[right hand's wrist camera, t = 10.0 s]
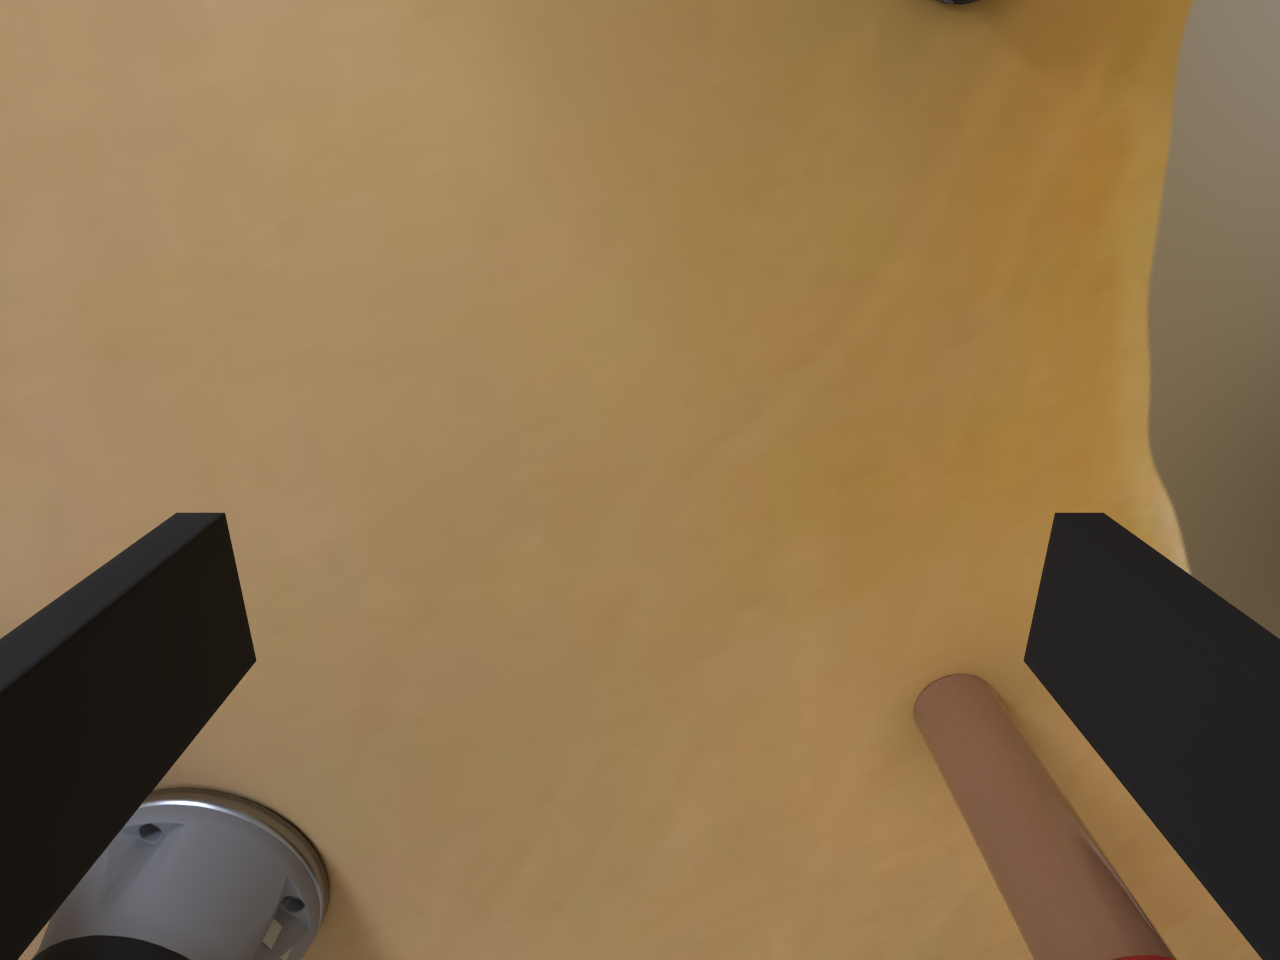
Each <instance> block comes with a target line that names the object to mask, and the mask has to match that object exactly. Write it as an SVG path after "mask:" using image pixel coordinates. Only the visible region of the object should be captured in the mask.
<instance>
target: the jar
mask: <svg viewBox="0 0 1280 960" xmlns="http://www.w3.org/2000/svg"><path fill="white" fill-rule="evenodd" d="M914 717H915V721H916V724H917V726H918V728H919V730H920V732H921V734H922V736H923V738H924V740H925V742H926V744H927V746H928V748H929V750H930V752H931V754H932V756H933V758H934V760H935V762H936V764H937V766H938V768H939V770H940V772H941V774H942V776H943V778H944V780H945V782H946V784H947V786H948V788H949V790H950V792H951V794H952V796H953V798H954V800H955V802H956V804H957V806H958V808H959V810H960V812H961V814H962V816H963V818H964V820H965V822H966V824H967V826H968V828H969V830H970V832H971V834H972V836H973V838H974V840H975V842H976V844H977V846H978V848H979V850H980V852H981V854H982V856H983V858H984V860H985V862H986V864H987V866H988V868H989V870H990V872H991V874H992V876H993V878H994V880H995V882H996V884H997V886H998V888H999V890H1000V892H1001V894H1002V896H1003V898H1004V900H1005V902H1006V904H1007V906H1008V908H1009V910H1010V912H1011V914H1012V917H1013V919H1014V921H1015V923H1016V925H1017V927H1018V929H1019V931H1020V933H1021V935H1022V937H1023V939H1024V941H1025V943H1026V945H1027V947H1028V949H1029V951H1030V953H1031V955H1032V957H1033V959H1034V960H1115V959H1118V958H1123V957H1128V956H1136V955H1158V956H1164V957H1169V958H1173V959H1176V960H1178V959H1177V958H1176V957H1175V955H1174V954H1173V952H1172V951H1171V949H1170V948H1169V946H1168V945H1167V943H1166V942H1165V940H1164V939H1163V937H1162V936H1161V935H1160V933H1159V932H1158V930H1157V929H1156V927H1155V926H1154V924H1153V923H1152V921H1151V920H1150V918H1149V917H1148V916H1147V914H1146V913H1145V911H1144V910H1143V908H1142V907H1141V905H1140V904H1139V902H1138V901H1137V899H1136V898H1135V896H1134V895H1133V894H1132V892H1131V891H1130V889H1129V888H1128V886H1127V885H1126V883H1125V882H1124V880H1123V879H1122V877H1121V876H1120V874H1119V873H1118V872H1117V870H1116V869H1115V867H1114V866H1113V864H1112V863H1111V861H1110V860H1109V858H1108V857H1107V855H1106V854H1105V853H1104V851H1103V850H1102V848H1101V847H1100V845H1099V844H1098V842H1097V841H1096V839H1095V838H1094V836H1093V835H1092V833H1091V832H1090V831H1089V829H1088V828H1087V826H1086V825H1085V823H1084V822H1083V820H1082V819H1081V817H1080V816H1079V814H1078V813H1077V811H1076V810H1075V809H1074V807H1073V806H1072V804H1071V803H1070V801H1069V800H1068V798H1067V797H1066V795H1065V794H1064V792H1063V791H1062V790H1061V788H1060V787H1059V785H1058V784H1057V782H1056V781H1055V779H1054V778H1053V776H1052V775H1051V773H1050V772H1049V770H1048V769H1047V768H1046V766H1045V765H1044V763H1043V762H1042V760H1041V759H1040V757H1039V756H1038V754H1037V753H1036V751H1035V750H1034V749H1033V747H1032V746H1031V744H1030V743H1029V741H1028V740H1027V738H1026V737H1025V735H1024V734H1023V732H1022V731H1021V729H1020V728H1019V727H1018V725H1017V724H1016V722H1015V721H1014V719H1013V718H1012V716H1011V715H1010V713H1009V712H1008V710H1007V709H1006V707H1005V706H1004V705H1003V703H1002V702H1001V700H1000V699H999V697H998V696H997V694H996V693H995V691H994V690H993V689H992V687H991V686H990V685H989V684H988V683H987V682H985V681H984V680H982V679H980V678H978V677H975V676H971V675H963V674H960V675H951V676H947V677H944V678H941V679H939V680H937V681H935V682H934V683H932V684H931V685H929V686H928V687H927V688H926V689H925V690H924V691H923V692H922V693H921V694H920V696H919V698H918V699H917V702H916V705H915V709H914Z"/></svg>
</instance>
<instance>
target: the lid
mask: <svg viewBox="0 0 1280 960" xmlns="http://www.w3.org/2000/svg"><path fill="white" fill-rule="evenodd" d="M1115 960H1176V959H1173V958H1169V957H1164V956H1158V955H1136V956H1128V957H1123V958H1118V959H1115Z"/></svg>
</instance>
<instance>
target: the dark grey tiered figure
mask: <svg viewBox="0 0 1280 960" xmlns="http://www.w3.org/2000/svg"><path fill="white" fill-rule="evenodd" d="M938 1H941V2H943V3H949V4H965V3H970V2H974V1H978V0H938Z"/></svg>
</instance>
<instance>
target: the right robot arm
mask: <svg viewBox="0 0 1280 960" xmlns="http://www.w3.org/2000/svg"><path fill="white" fill-rule="evenodd" d="M255 662H256V657H255V652H254V647H253V643H252V638H251V633H250V629H249V624H248V619H247V615H246V610H245V605H244V600H243V596H242V591H241V586H240V582H239V577H238V572H237V567H236V563H235V558H234V553H233V549H232V544H231V539H230V534H229V530H228V525H227V520H226V516H225V513H176V514H174V515H173V516H171V517H170V518H169V519H167V520H166V521H164V522H163V523H162V524H160V525H159V526H158V527H156V528H155V529H153V530H152V531H151V532H149V533H148V534H146V535H145V536H144V537H142V538H141V539H139V540H138V541H137V542H135V543H134V544H132V545H131V546H130V547H128V548H127V549H125V550H124V551H123V552H121V553H120V554H118V555H117V556H116V557H114V558H113V559H112V560H110V561H109V562H107V563H106V564H105V565H103V566H102V567H100V568H99V569H98V570H96V571H95V572H93V573H92V574H91V575H89V576H88V577H86V578H85V579H84V580H82V581H81V582H79V583H78V584H77V585H75V586H74V587H72V588H71V589H70V590H68V591H67V592H66V593H64V594H63V595H61V596H60V597H59V598H57V599H56V600H54V601H53V602H52V603H50V604H49V605H47V606H46V607H45V608H43V609H42V610H40V611H39V612H38V613H36V614H35V615H33V616H32V617H31V618H29V619H28V620H26V621H25V622H24V623H22V624H21V625H20V626H18V627H17V628H15V629H14V630H13V631H11V632H10V633H8V634H7V635H6V636H4V637H3V638H1V639H0V960H18V958H19V957H20V956H21V955H22V953H23V952H24V951H25V950H26V948H27V947H28V946H29V945H30V943H31V942H32V941H33V940H34V938H35V937H36V936H37V935H38V933H39V932H40V931H41V930H42V928H43V927H44V926H45V925H46V923H47V922H48V921H49V920H50V918H51V920H50V922H49V925H48V927H47V930H46V932H45V935H44V937H43V940H42V942H41V945H40V947H39V950H38V951H37V953H36V954H35V956H34V957H33V958H32V960H301V958H302V957H303V956H304V954H305V953H306V951H307V949H308V948H309V946H310V945H311V943H312V942H313V940H314V938H315V936H316V934H317V932H318V929H319V927H320V925H321V923H322V920H323V918H324V915H325V913H326V910H327V906H328V900H329V886H328V880H327V876H326V873H325V869H324V867H323V865H322V862H321V860H320V859H319V857H318V855H317V853H316V852H315V850H314V849H313V848H312V846H311V845H310V843H309V842H308V841H307V840H306V839H305V838H304V837H303V836H302V835H301V834H300V833H299V832H298V831H297V830H296V829H295V828H294V827H293V826H292V825H290V824H289V823H288V822H287V821H285V820H284V819H282V818H281V817H279V816H278V815H276V814H275V813H273V812H271V811H270V810H268V809H266V808H264V807H262V806H260V805H258V804H256V803H254V802H251V801H249V800H246V799H244V798H241V797H238V796H235V795H231V794H228V793H224V792H219V791H214V790H208V789H199V788H170V789H163V790H156V791H153V789H154V788H155V787H156V786H157V784H158V783H159V782H160V781H161V779H162V778H163V777H164V776H165V774H166V773H167V772H168V771H169V769H170V768H171V767H172V766H173V764H174V763H175V762H176V761H177V759H178V758H179V757H180V756H181V754H182V753H183V752H184V751H185V749H186V748H187V747H188V746H189V744H190V743H191V742H192V741H193V739H194V738H195V737H196V736H197V734H198V733H199V732H200V731H201V729H202V728H203V727H204V726H205V724H206V723H207V722H208V721H209V719H210V718H211V717H212V715H213V714H214V713H215V712H216V710H217V709H218V708H219V707H220V705H221V704H222V703H223V702H224V700H225V699H226V698H227V697H228V695H229V694H230V693H231V692H232V690H233V689H234V688H235V687H236V685H237V684H238V683H239V682H240V680H241V679H242V678H243V677H244V675H245V674H246V673H247V672H248V670H249V669H250V668H251V667H252V665H253V664H254V663H255ZM1024 662H1025V663H1026V664H1027V665H1028V667H1029V668H1030V669H1031V670H1032V672H1033V673H1034V674H1035V675H1036V677H1037V678H1038V679H1039V680H1040V682H1041V683H1042V684H1043V685H1044V687H1045V688H1046V689H1047V690H1048V692H1049V693H1050V694H1051V695H1052V697H1053V698H1054V699H1055V700H1056V702H1057V703H1058V704H1059V705H1060V707H1061V708H1062V709H1063V710H1064V712H1065V713H1066V714H1067V715H1068V717H1069V718H1070V719H1071V721H1072V722H1073V723H1074V724H1075V726H1076V727H1077V728H1078V729H1079V731H1080V732H1081V733H1082V734H1083V736H1084V737H1085V738H1086V739H1087V741H1088V742H1089V743H1090V744H1091V746H1092V747H1093V748H1094V749H1095V751H1096V752H1097V753H1098V754H1099V756H1100V757H1101V758H1102V759H1103V761H1104V762H1105V763H1106V764H1107V766H1108V767H1109V768H1110V769H1111V771H1112V772H1113V773H1114V774H1115V776H1116V777H1117V778H1118V779H1119V781H1120V782H1121V783H1122V784H1123V786H1124V787H1125V788H1126V789H1127V791H1128V792H1129V793H1130V794H1131V796H1132V797H1133V798H1134V799H1135V801H1136V802H1137V803H1138V804H1139V806H1140V807H1141V808H1142V809H1143V811H1144V812H1145V813H1146V814H1147V816H1148V817H1149V818H1150V819H1151V821H1152V822H1153V823H1154V824H1155V826H1156V827H1157V828H1158V829H1159V831H1160V832H1161V833H1162V834H1163V836H1164V837H1165V838H1166V839H1167V841H1168V842H1169V843H1170V844H1171V846H1172V847H1173V848H1174V849H1175V851H1176V852H1177V853H1178V854H1179V856H1180V857H1181V858H1182V859H1183V861H1184V862H1185V863H1186V864H1187V866H1188V867H1189V868H1190V869H1191V871H1192V872H1193V873H1194V874H1195V876H1196V877H1197V878H1198V879H1199V881H1200V882H1201V883H1202V884H1203V886H1204V887H1205V888H1206V890H1207V891H1208V892H1209V893H1210V895H1211V896H1212V897H1213V898H1214V900H1215V901H1216V902H1217V903H1218V905H1219V906H1220V907H1221V908H1222V910H1223V911H1224V912H1225V913H1226V915H1227V916H1228V917H1229V918H1230V920H1231V921H1232V922H1233V923H1234V925H1235V926H1236V927H1237V928H1238V930H1239V931H1240V932H1241V933H1242V935H1243V936H1244V937H1245V938H1246V940H1247V941H1248V942H1249V943H1250V945H1251V946H1252V947H1253V948H1254V950H1255V951H1256V952H1257V953H1258V955H1259V956H1260V957H1261V958H1262V960H1280V639H1279V638H1277V637H1276V636H1274V635H1273V634H1272V633H1270V632H1269V631H1267V630H1266V629H1265V628H1263V627H1262V626H1260V625H1259V624H1258V623H1256V622H1255V621H1254V620H1252V619H1251V618H1249V617H1248V616H1247V615H1245V614H1244V613H1242V612H1241V611H1240V610H1238V609H1237V608H1235V607H1234V606H1233V605H1231V604H1230V603H1228V602H1227V601H1226V600H1224V599H1223V598H1221V597H1220V596H1219V595H1217V594H1216V593H1214V592H1213V591H1212V590H1210V589H1209V588H1208V587H1206V586H1205V585H1203V584H1202V583H1201V582H1199V581H1198V580H1196V579H1195V578H1194V577H1192V576H1191V575H1189V574H1188V573H1187V572H1185V571H1184V570H1182V569H1181V568H1180V567H1178V566H1177V565H1175V564H1174V563H1173V562H1171V561H1170V560H1168V559H1167V558H1166V557H1164V556H1163V555H1162V554H1160V553H1159V552H1157V551H1156V550H1155V549H1153V548H1152V547H1150V546H1149V545H1148V544H1146V543H1145V542H1143V541H1142V540H1141V539H1139V538H1138V537H1136V536H1135V535H1134V534H1132V533H1131V532H1129V531H1128V530H1127V529H1125V528H1124V527H1122V526H1121V525H1120V524H1118V523H1117V522H1116V521H1114V520H1113V519H1111V518H1110V517H1109V516H1107V515H1106V514H1104V513H1055V516H1054V520H1053V525H1052V530H1051V534H1050V539H1049V544H1048V549H1047V553H1046V558H1045V563H1044V567H1043V572H1042V577H1041V582H1040V586H1039V591H1038V596H1037V600H1036V605H1035V610H1034V615H1033V619H1032V624H1031V629H1030V633H1029V638H1028V643H1027V647H1026V652H1025V657H1024Z"/></svg>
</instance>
